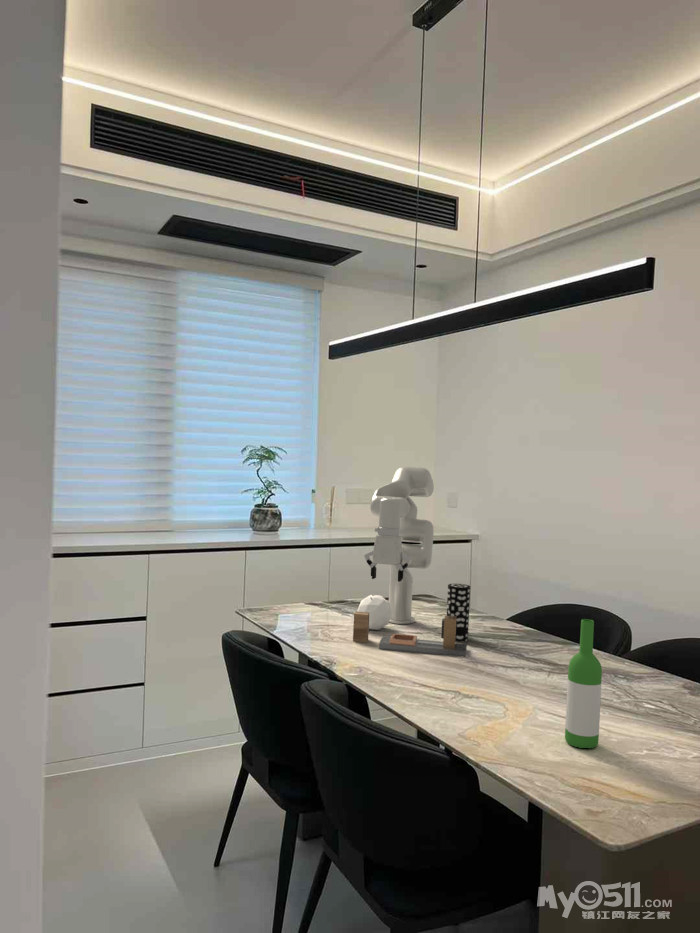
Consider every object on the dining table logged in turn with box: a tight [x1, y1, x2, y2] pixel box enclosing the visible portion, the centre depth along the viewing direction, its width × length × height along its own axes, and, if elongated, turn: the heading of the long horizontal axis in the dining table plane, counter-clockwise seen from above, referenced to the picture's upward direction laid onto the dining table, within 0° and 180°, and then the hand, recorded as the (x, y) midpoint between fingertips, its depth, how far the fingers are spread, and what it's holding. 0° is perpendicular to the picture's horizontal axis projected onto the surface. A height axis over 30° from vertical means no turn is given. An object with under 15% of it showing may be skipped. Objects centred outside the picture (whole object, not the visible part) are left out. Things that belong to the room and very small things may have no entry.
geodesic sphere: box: [356, 594, 392, 631], centre depth 277 cm, size 14×14×14 cm
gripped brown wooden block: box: [352, 610, 370, 643], centre depth 259 cm, size 5×5×10 cm
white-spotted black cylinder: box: [446, 583, 471, 643], centre depth 268 cm, size 8×8×20 cm
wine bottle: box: [564, 618, 603, 749], centre depth 172 cm, size 8×8×30 cm
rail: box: [378, 614, 468, 658], centre depth 251 cm, size 10×30×12 cm, turn 80°
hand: (386, 579), depth 257 cm, fingers open, 9 cm apart
